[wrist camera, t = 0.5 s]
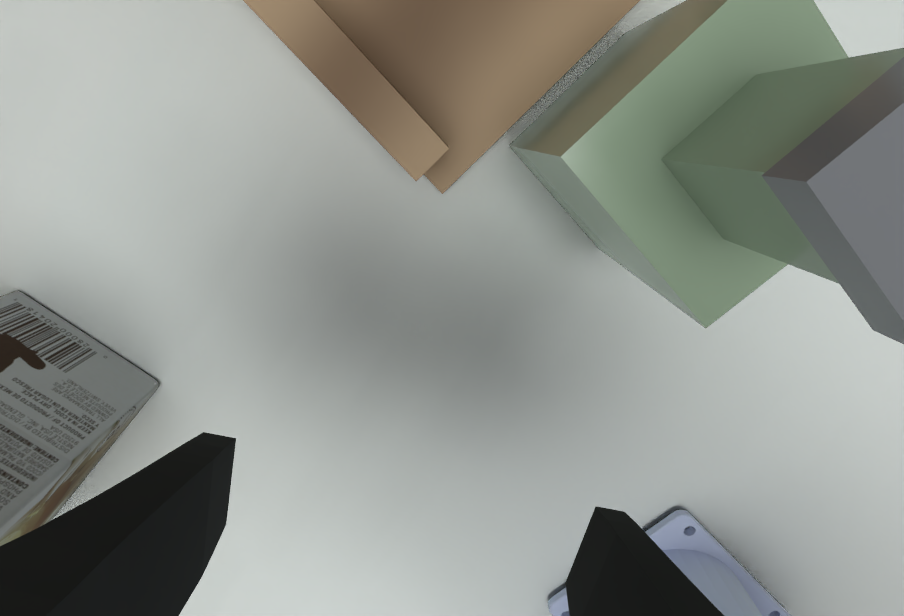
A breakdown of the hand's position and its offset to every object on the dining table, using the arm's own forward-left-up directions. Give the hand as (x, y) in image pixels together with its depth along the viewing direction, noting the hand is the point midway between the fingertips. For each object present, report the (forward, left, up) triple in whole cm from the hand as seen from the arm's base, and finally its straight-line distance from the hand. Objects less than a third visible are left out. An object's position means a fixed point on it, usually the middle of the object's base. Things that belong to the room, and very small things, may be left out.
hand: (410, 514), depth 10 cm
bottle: (0, -9, -10) cm, 14 cm away
